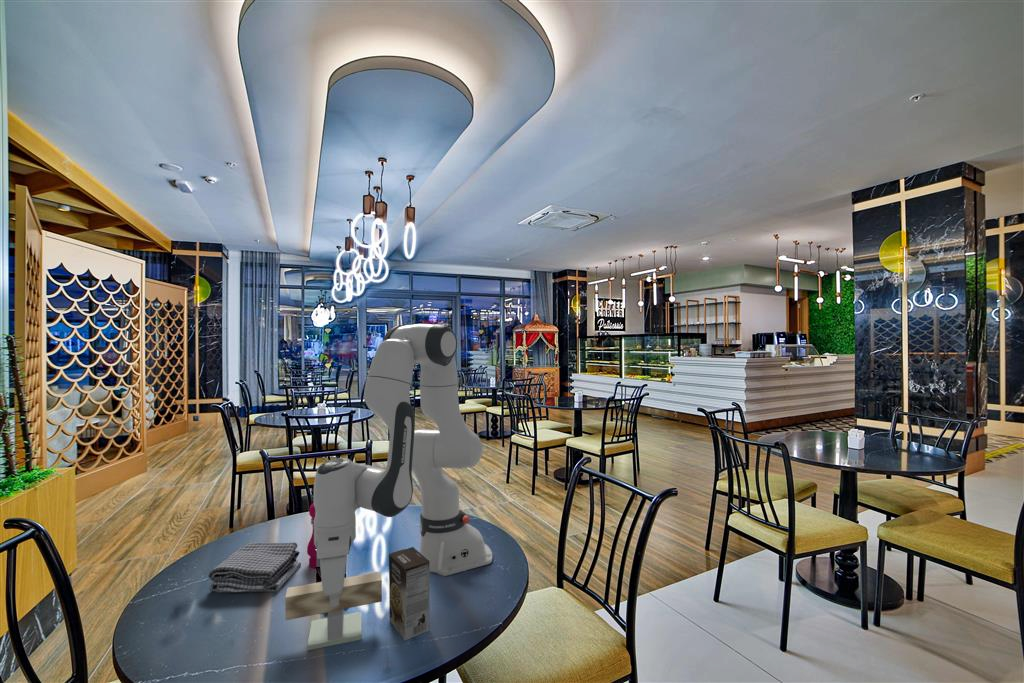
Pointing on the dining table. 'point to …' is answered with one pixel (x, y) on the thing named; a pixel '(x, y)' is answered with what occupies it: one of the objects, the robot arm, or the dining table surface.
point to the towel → (256, 568)
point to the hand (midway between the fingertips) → (335, 593)
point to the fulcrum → (335, 629)
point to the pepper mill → (312, 540)
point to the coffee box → (409, 592)
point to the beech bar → (315, 602)
